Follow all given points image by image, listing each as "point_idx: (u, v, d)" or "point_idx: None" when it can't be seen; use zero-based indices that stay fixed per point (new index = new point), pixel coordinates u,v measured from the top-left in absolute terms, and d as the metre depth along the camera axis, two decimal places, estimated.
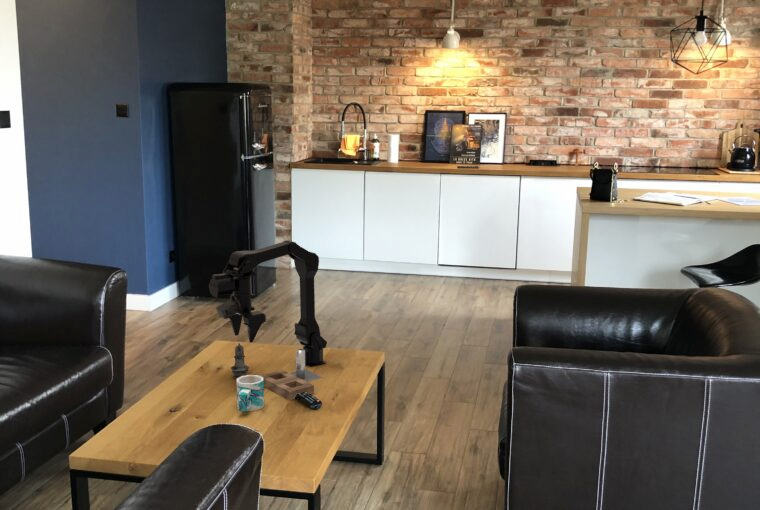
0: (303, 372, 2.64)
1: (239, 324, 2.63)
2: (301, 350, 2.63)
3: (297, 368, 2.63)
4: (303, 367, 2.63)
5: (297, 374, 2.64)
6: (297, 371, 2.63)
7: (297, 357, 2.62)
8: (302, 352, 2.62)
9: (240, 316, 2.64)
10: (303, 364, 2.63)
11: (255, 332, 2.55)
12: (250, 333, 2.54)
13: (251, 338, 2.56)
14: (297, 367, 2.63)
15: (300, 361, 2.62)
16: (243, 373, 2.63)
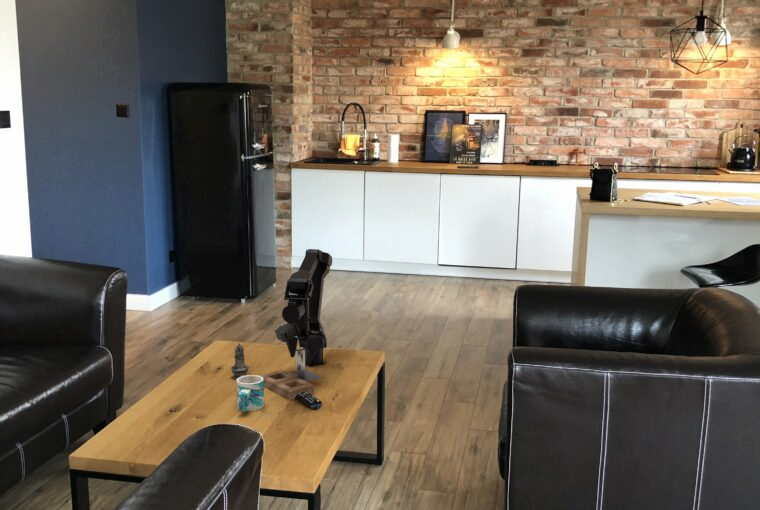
0: (303, 372, 2.64)
1: (295, 346, 2.68)
2: (301, 350, 2.63)
3: (297, 368, 2.63)
4: (303, 367, 2.63)
5: (297, 374, 2.64)
6: (297, 371, 2.63)
7: (297, 357, 2.62)
8: (302, 352, 2.62)
9: (296, 338, 2.68)
10: (303, 364, 2.63)
11: (313, 355, 2.60)
12: (308, 356, 2.59)
13: (309, 361, 2.60)
14: (297, 367, 2.63)
15: (300, 361, 2.62)
16: (243, 373, 2.63)
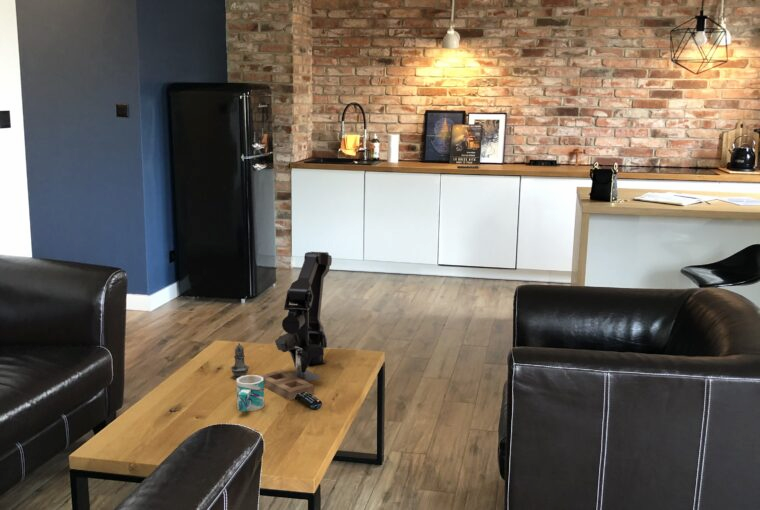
0: (303, 372, 2.64)
1: None
2: (301, 350, 2.63)
3: (297, 368, 2.63)
4: None
5: (297, 374, 2.64)
6: (297, 371, 2.63)
7: (297, 357, 2.62)
8: None
9: None
10: None
11: (307, 362, 2.62)
12: (303, 363, 2.61)
13: (303, 368, 2.62)
14: (297, 367, 2.63)
15: None
16: (243, 373, 2.63)
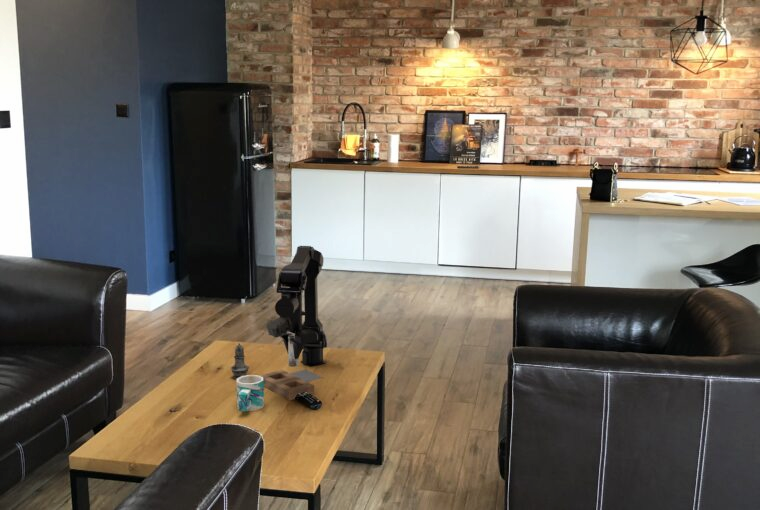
0: (296, 359, 2.49)
1: None
2: (293, 335, 2.48)
3: (290, 354, 2.49)
4: None
5: (290, 361, 2.49)
6: (290, 358, 2.49)
7: (289, 343, 2.48)
8: None
9: None
10: None
11: (301, 348, 2.48)
12: (296, 350, 2.47)
13: (296, 355, 2.48)
14: (289, 353, 2.49)
15: None
16: (243, 373, 2.63)
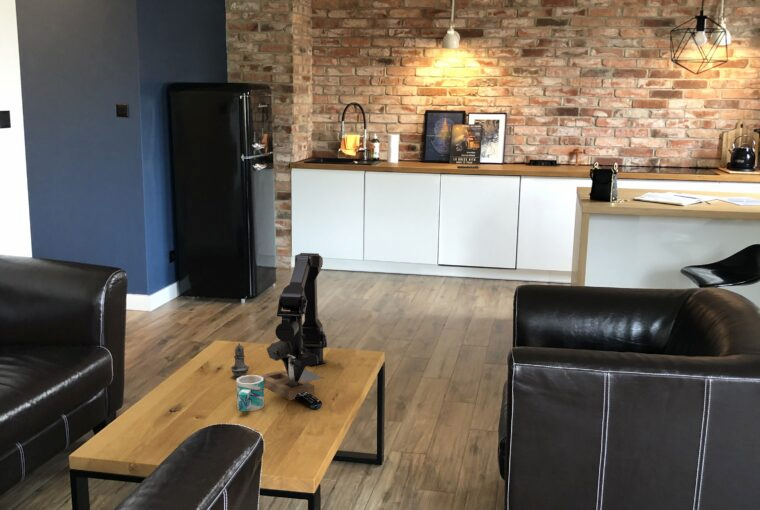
0: None
1: None
2: (294, 358, 2.50)
3: (290, 377, 2.50)
4: None
5: (290, 383, 2.51)
6: (290, 380, 2.50)
7: (290, 366, 2.49)
8: None
9: None
10: None
11: (301, 371, 2.49)
12: (296, 372, 2.48)
13: (297, 377, 2.49)
14: (290, 376, 2.50)
15: (293, 370, 2.49)
16: (243, 373, 2.63)
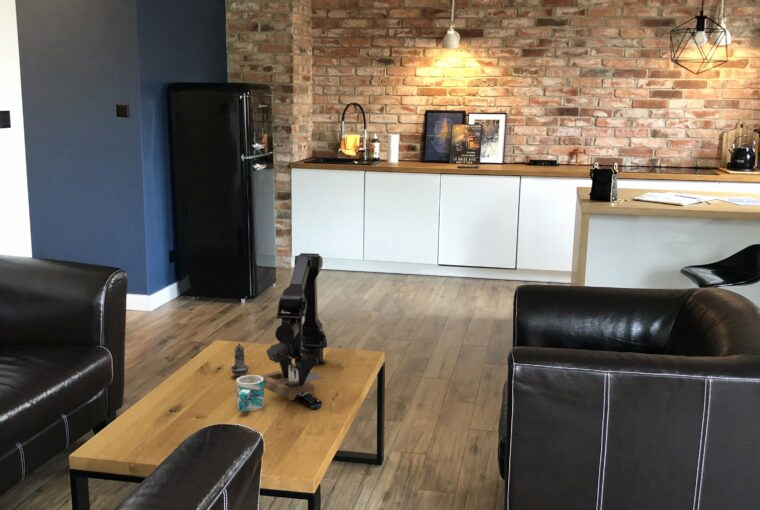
0: None
1: None
2: (294, 364, 2.50)
3: (290, 383, 2.51)
4: (296, 382, 2.51)
5: None
6: (290, 386, 2.51)
7: (290, 372, 2.50)
8: None
9: (290, 358, 2.55)
10: (296, 379, 2.50)
11: (306, 375, 2.48)
12: (301, 377, 2.46)
13: (301, 382, 2.48)
14: (290, 382, 2.50)
15: (293, 376, 2.50)
16: (243, 373, 2.63)
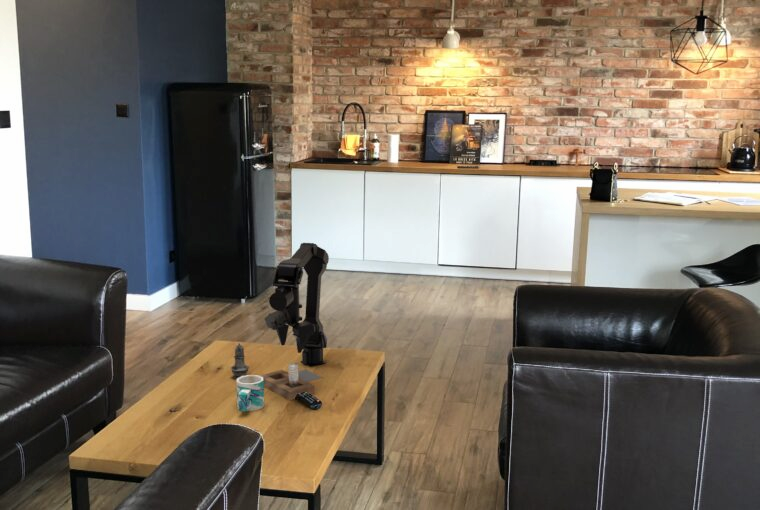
0: None
1: (285, 334, 2.61)
2: (294, 364, 2.50)
3: (290, 383, 2.51)
4: (296, 382, 2.51)
5: None
6: (290, 386, 2.51)
7: (290, 372, 2.50)
8: (295, 366, 2.49)
9: (286, 326, 2.61)
10: (296, 379, 2.50)
11: (304, 342, 2.53)
12: (299, 344, 2.52)
13: (300, 348, 2.53)
14: (290, 382, 2.50)
15: (293, 376, 2.50)
16: (243, 373, 2.63)
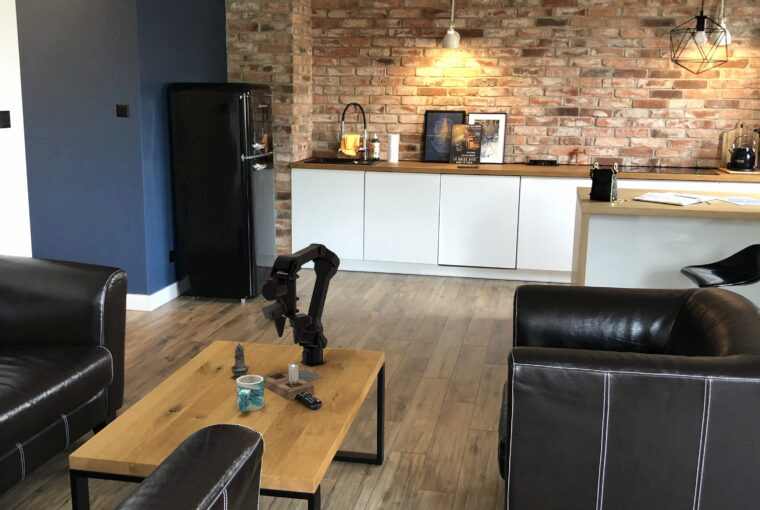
0: None
1: (283, 326, 2.68)
2: (294, 364, 2.50)
3: (290, 383, 2.51)
4: (296, 382, 2.51)
5: None
6: (290, 386, 2.51)
7: (290, 372, 2.50)
8: (295, 366, 2.49)
9: (284, 318, 2.68)
10: (296, 379, 2.50)
11: (300, 334, 2.60)
12: (295, 335, 2.59)
13: (296, 340, 2.60)
14: (290, 382, 2.50)
15: (293, 376, 2.50)
16: (243, 373, 2.63)
